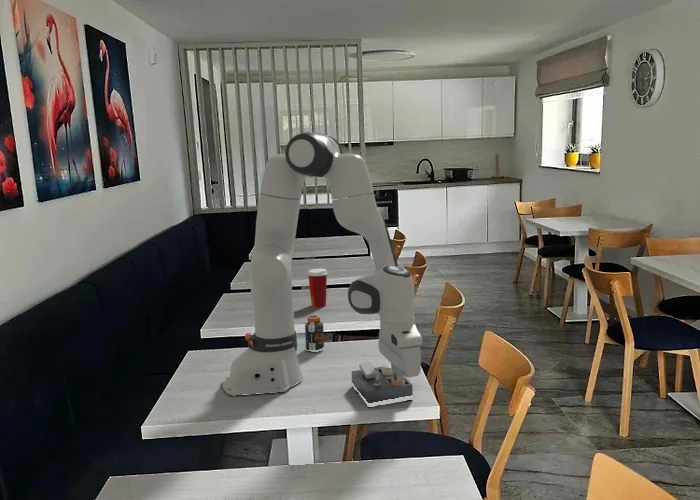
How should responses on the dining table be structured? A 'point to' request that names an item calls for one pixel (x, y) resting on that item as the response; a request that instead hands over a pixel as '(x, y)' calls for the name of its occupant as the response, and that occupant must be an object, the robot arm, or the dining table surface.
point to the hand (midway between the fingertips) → (398, 380)
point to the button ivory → (387, 370)
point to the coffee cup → (318, 287)
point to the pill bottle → (314, 333)
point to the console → (379, 386)
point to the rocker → (368, 370)
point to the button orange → (397, 383)
